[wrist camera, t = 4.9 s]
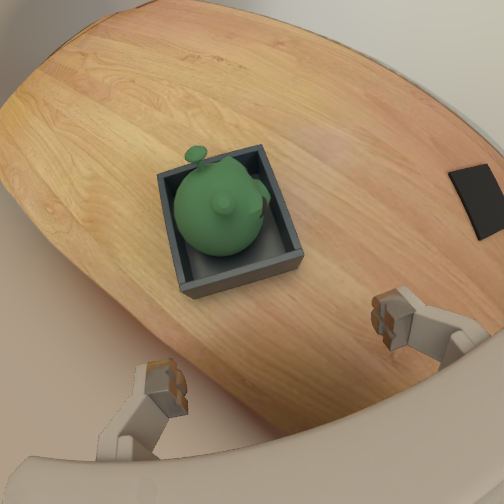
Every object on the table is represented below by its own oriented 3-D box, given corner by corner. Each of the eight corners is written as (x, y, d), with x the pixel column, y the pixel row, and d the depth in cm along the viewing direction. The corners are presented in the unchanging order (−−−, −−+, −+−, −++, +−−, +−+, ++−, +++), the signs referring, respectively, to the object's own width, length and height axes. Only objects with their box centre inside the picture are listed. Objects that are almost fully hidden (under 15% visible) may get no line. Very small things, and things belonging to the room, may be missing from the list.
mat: (513, 223, 27) (515, 222, 27) (478, 240, 26) (481, 239, 26) (485, 165, 29) (487, 163, 29) (447, 173, 29) (449, 171, 28)
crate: (297, 268, 26) (304, 255, 22) (193, 299, 26) (180, 292, 21) (261, 169, 29) (261, 143, 25) (169, 196, 29) (156, 174, 24)
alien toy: (284, 240, 27) (297, 187, 17) (208, 281, 26) (178, 248, 16) (247, 181, 28) (242, 111, 19) (176, 217, 27) (140, 160, 18)
